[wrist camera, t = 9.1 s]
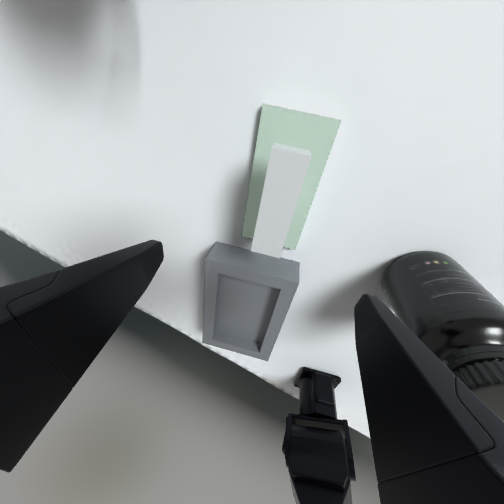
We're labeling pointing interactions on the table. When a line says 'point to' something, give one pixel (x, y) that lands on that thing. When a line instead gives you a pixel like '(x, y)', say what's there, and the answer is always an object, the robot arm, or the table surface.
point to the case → (246, 299)
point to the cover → (285, 176)
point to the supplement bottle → (452, 320)
